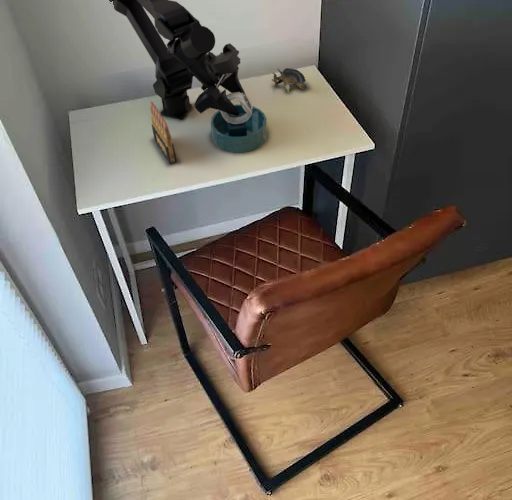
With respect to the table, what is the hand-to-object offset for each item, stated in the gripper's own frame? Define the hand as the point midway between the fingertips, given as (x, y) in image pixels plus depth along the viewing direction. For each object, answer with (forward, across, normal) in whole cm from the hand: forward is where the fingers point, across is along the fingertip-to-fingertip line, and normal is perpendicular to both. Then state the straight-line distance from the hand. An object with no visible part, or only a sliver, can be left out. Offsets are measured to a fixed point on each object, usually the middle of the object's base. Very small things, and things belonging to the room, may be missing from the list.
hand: (242, 107), depth 140 cm
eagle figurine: (+10, +23, +2) cm, 26 cm away
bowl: (+5, 0, +7) cm, 9 cm away
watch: (+4, 0, +6) cm, 8 cm away
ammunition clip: (-6, -11, +18) cm, 22 cm away
